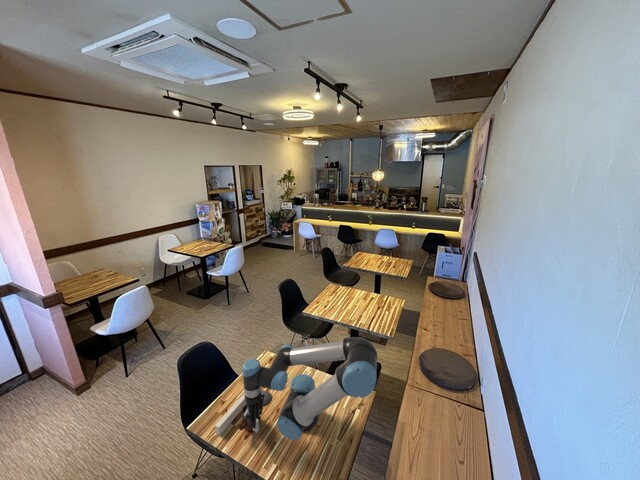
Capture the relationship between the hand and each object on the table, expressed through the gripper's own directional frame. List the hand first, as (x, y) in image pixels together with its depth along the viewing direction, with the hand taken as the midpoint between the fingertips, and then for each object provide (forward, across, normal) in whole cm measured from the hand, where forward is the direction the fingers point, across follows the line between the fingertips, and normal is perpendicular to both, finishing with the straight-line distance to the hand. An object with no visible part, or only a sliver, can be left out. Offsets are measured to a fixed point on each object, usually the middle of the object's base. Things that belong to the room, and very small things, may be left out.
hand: (256, 430), depth 122 cm
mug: (+2, 0, -5) cm, 5 cm away
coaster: (+2, -16, -9) cm, 18 cm away
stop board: (+2, -2, -16) cm, 16 cm away
